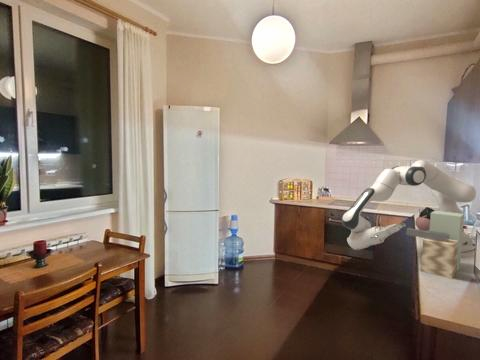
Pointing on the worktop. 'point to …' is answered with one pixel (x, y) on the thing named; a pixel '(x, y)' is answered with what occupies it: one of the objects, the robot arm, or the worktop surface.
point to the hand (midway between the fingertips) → (402, 226)
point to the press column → (449, 227)
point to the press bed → (439, 257)
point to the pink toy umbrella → (423, 223)
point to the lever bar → (428, 234)
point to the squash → (426, 212)
